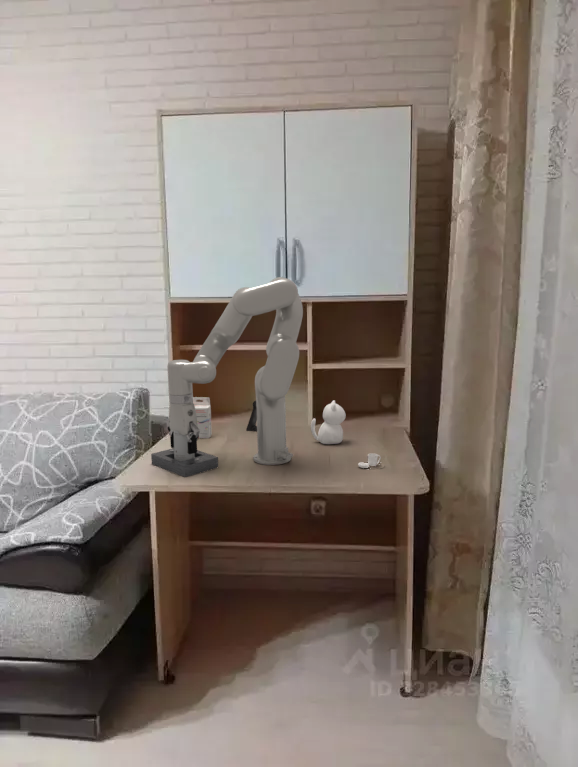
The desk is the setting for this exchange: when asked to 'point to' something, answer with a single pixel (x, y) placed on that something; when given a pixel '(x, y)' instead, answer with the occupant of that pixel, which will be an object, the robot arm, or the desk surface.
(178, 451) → the skincare box
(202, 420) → the ink cartridge box
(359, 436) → the desk surface
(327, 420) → the cat figurine
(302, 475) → the desk surface
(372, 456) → the teacup and saucer
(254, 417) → the phone stand
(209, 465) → the grey rectangular frame
